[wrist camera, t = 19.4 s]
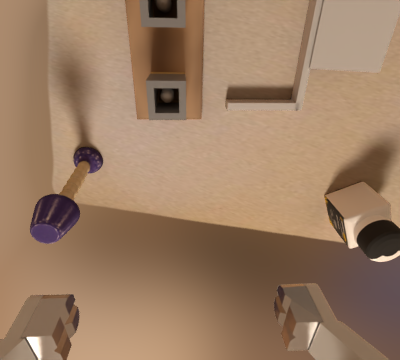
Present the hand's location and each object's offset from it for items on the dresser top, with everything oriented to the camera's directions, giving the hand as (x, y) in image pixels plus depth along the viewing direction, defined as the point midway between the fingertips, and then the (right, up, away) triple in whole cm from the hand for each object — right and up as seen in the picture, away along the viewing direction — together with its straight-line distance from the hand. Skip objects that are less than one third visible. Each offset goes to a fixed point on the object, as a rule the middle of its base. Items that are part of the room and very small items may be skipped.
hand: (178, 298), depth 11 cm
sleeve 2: (-3, +17, +25) cm, 30 cm away
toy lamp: (-16, +8, +31) cm, 35 cm away
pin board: (-3, +23, +23) cm, 32 cm away
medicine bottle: (+28, +1, +38) cm, 47 cm away
